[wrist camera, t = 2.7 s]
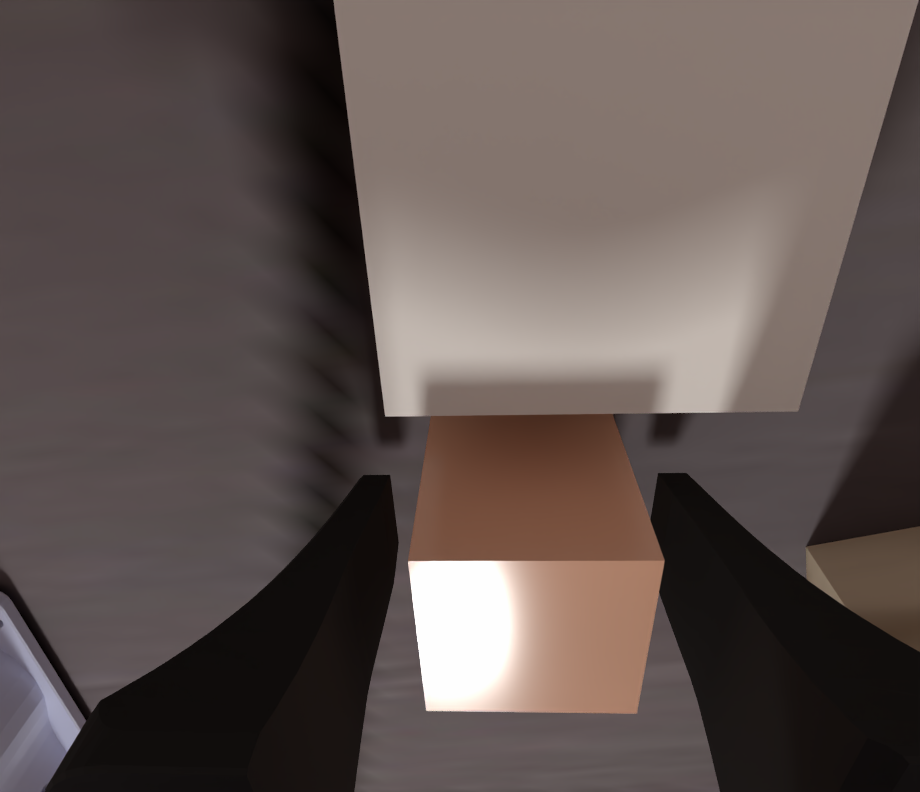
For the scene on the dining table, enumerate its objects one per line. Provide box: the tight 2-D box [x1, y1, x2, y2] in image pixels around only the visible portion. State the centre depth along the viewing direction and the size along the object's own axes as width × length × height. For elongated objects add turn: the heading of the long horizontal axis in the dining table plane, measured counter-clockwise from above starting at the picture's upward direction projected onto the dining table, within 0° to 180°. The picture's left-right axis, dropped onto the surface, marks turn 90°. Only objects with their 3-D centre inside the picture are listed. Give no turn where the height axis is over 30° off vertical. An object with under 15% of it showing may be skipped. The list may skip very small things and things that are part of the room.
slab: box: [333, 0, 919, 417], centre depth 9 cm, size 7×7×3 cm
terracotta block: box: [408, 414, 665, 714], centre depth 12 cm, size 4×4×5 cm
